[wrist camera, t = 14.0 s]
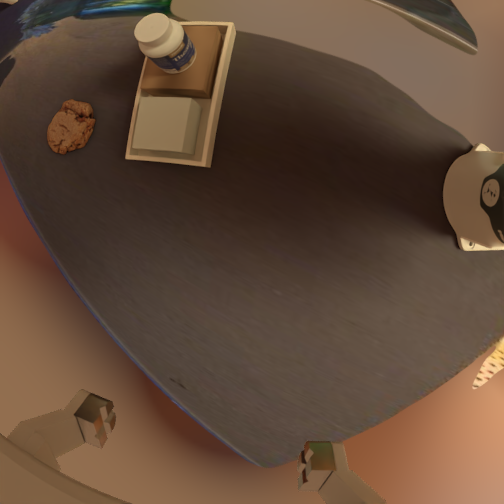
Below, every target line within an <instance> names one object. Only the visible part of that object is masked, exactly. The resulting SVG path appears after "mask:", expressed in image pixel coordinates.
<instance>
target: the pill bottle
mask: <svg viewBox="0 0 504 504" xmlns="http://www.w3.org/2000/svg"><path fill="white" fill-rule="evenodd" d="M134 34H135V37H136V39H137V40H138V41H139V48H140V50H141V51H142V53H143V54H144V55H146V56H147V57H148V58H149V59H150V60H151V61H152V62H154V63H155V64H156V65H157V66H158V67H159V68H160V69H162V70H163V71H165V72H167V73H172V74H175V73H180V72H183V71H185V70H186V69H188V68H189V67H190V66H191V65H192V64H193V62H194V61H195V58H196V49H195V46H194V45H193V43H192V41H191V40H190V38H189V37H188V35H187V34H186V32H185V31H184V29H183V27H182V26H181V25H180V24H179V23H178V22H177V21H175V20H173V19H168V17H167V16H166V15H164V14H161V13H154V14H150V15H148V16H146V17H144V18H143V19H142V20H141V21H140V22H139V23H138V24H137V26H136V28H135V31H134Z"/></svg>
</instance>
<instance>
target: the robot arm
mask: <svg viewBox="0 0 504 504" xmlns="http://www.w3.org/2000/svg"><path fill="white" fill-rule="evenodd" d="M443 202H444V208H445V212H446V215H447V218H448V220H449V222H450V224H451V226H452V227H453V229H454V230H455V232H456V235H457V240H458V244H459V247H460V249H461V250H465V251H477V250H504V152H493V151H491V150H490V149H489V148H488V147H486V146H485V145H484V144H481V143H477V144H476V145H475V146H474V147H473V148H472V150H471V151H470V152H469V153H467V154H465V155H462V156H460V157H459V158H457V159H456V160H455V161H454V162H453V164H452V165H451V167H450V168H449V170H448V172H447V175H446V178H445V182H444V189H443ZM469 243H470V245H469ZM113 407H114V406H113V402H112V401H110V400H107V399H105V398H102V397H100V396H98V395H95V394H93V393H90V392H88V391H86V390H83V389H81V390H80V391H78V393H77V394H76V395H75V396H74V398H73V399H72V400H71V401H70V403H69V404H68V405H67V406H66V408H65V409H64V410H61V409H60V410H57V411H54V412H51V413H48V414H45V415H42V416H38V417H35V418H32V419H28V420H25V421H21V422H20V423H19V424H18V426H16V428H15V429H14V430H13V431H12V432H11V433H10V435H9V436H8V437H7V438H6V437H5V436H3V435H2V434H1V433H0V504H131V503H128V502H125V501H123V500H120V499H118V498H115V497H112V496H110V495H108V494H105V493H103V492H100V491H98V490H96V489H94V488H91V487H89V486H87V485H85V484H83V483H81V482H79V481H77V480H75V479H73V478H71V477H69V476H66V475H65V474H63V473H61V472H60V470H61V468H60V465H59V464H58V462H57V460H56V459H55V458H57V457H59V456H61V455H63V454H65V453H67V452H69V451H71V450H73V449H75V448H77V447H79V446H81V445H82V444H84V443H85V442H86V443H88V444H91V445H93V446H96V447H98V448H101V449H102V448H103V446H104V444H105V443H106V441H107V439H108V438H107V435H106V434H108V433H111V432H112V430H113V429H114V426H115V422H116V416H115V413H114V412H113V410H112V409H113ZM297 469H298V472H299V473H300V476H299V478H298V490H299V491H317V492H318V493H319V495H320V496H321V497H322V498H323V500H324V501H325V502H326V504H386V500H385V499H383V498H382V497H381V496H380V495H379V494H378V493H377V492H375V491H374V490H373V489H372V488H371V487H370V486H369V485H367V484H366V483H365V482H364V481H363V480H362V479H361V478H360V477H359V476H358V475H357V474H355V473H354V472H353V471H352V470H349V468H348V463H347V459H346V454H345V449H344V445H343V443H342V442H330V441H306V442H305V444H304V450H303V451H301V453H300V455H299V458H298V465H297Z"/></svg>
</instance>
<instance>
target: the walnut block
mask: <svg viewBox="0 0 504 504" xmlns="http://www.w3.org/2000/svg"><path fill="white" fill-rule="evenodd" d="M182 27H183V29H184V31H185V32H186V34H187V35H188V37H189V38H190V40H191V41H192V43H193V45H194V46H195V49H196V58H195V61H194V62H193V64H192V65H191V66H190V67H189V68H188V69H186V70H185V71H183V72H180V73H175V74H172V73H167V72H165V71H163V70H162V69H160V68H159V67H158V66H157V65H156V64H155V63H154V62H152V61H151V60H150V59H149V58H147V62H146V65H145V69H144V74H143V78H142V82H141V86H140V89H142V90H143V91H145V92H147V93H148V94H150V95H152V96H153V97H183V98H201V99H211V96H212V91H213V86H214V81H215V77H216V72H217V67H218V62H219V58H220V53H221V49H222V45H223V39H222V36H221V33H220V31H219V28H218V26H182Z"/></svg>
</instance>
